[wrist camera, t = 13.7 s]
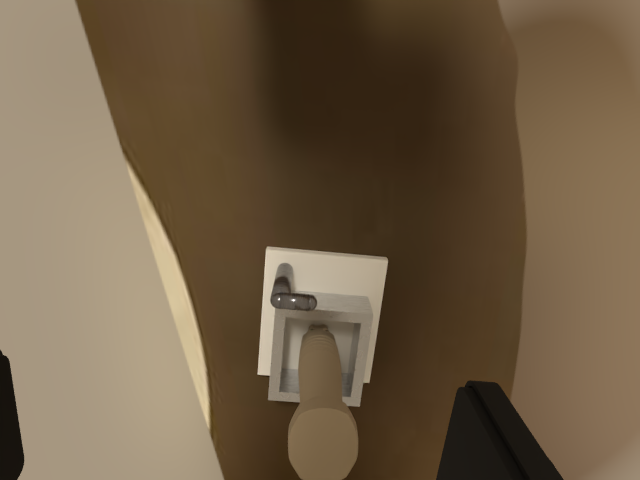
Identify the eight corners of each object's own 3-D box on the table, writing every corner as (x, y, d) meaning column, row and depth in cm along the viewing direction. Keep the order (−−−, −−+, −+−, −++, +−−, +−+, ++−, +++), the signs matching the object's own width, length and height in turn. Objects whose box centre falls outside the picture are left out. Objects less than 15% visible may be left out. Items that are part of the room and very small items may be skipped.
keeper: (267, 246, 41) (255, 278, 33) (386, 257, 42) (405, 291, 34) (258, 369, 45) (246, 425, 37) (368, 377, 46) (380, 435, 37)
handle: (341, 307, 42) (359, 407, 28) (341, 362, 44) (357, 482, 30) (294, 308, 42) (286, 408, 28) (295, 363, 44) (289, 484, 30)
